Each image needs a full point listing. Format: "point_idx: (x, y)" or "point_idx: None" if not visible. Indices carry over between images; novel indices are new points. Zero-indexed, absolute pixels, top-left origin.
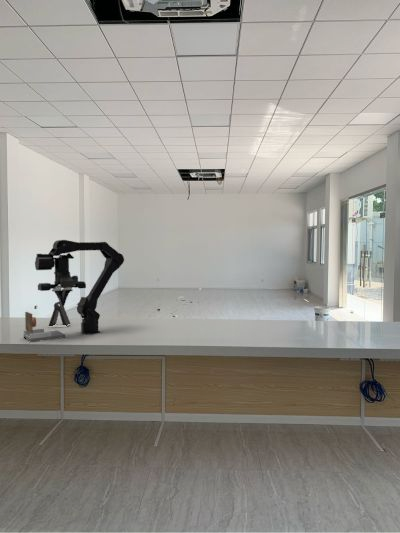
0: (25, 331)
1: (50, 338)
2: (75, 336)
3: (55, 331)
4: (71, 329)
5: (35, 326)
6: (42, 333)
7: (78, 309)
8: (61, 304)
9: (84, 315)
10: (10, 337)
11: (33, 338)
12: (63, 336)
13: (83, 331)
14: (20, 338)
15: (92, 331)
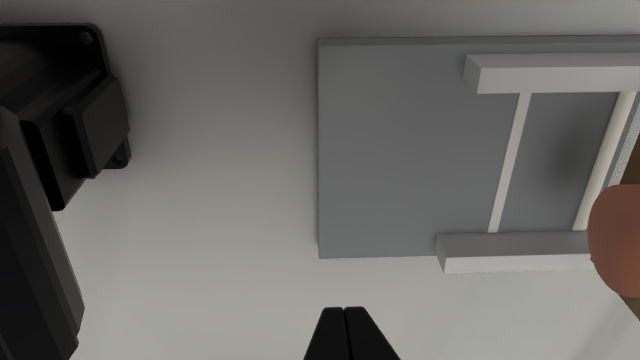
0: None
1: (464, 39)
2: (218, 17)
3: (344, 229)
4: (182, 306)
5: (605, 190)
6: (561, 65)
7: (54, 289)
8: (378, 339)
9: (1, 110)
10: None
11: (628, 51)
12: (337, 40)
13: (112, 79)
14: None
15: (14, 39)
